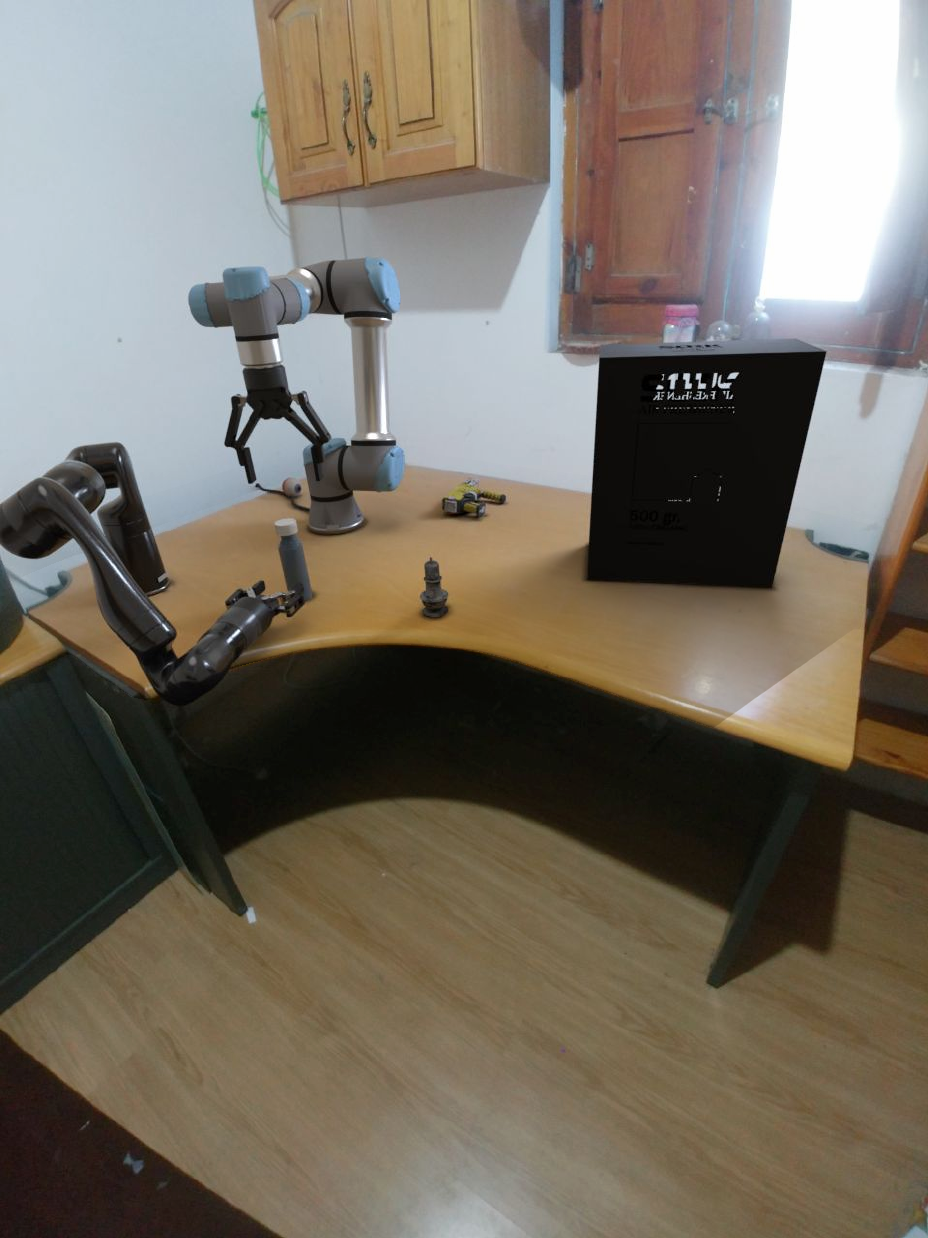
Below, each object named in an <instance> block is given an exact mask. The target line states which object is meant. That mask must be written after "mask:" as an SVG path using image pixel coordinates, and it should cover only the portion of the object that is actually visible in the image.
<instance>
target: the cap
mask: <svg viewBox="0 0 928 1238" xmlns="http://www.w3.org/2000/svg"><path fill="white" fill-rule="evenodd" d="M274 529H275V533H276V535H277V536H280V537H281V536H289V535H293V534H295V535H296V534H297V533H298V531H299V530H298V525H297V521H296V519H295V518H291V517H290V518H288V517H287V518H281V519H278V520H276V521H275V522H274Z"/></svg>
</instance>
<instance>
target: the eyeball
mask: <svg viewBox="0 0 928 1238" xmlns="http://www.w3.org/2000/svg"><path fill="white" fill-rule="evenodd" d="M281 487H282V489H281V490H282V491H283V492H284V493H285V494H286V495H288V496H292V497H293V498H295V497H297V496H299V495H300V494H301V493H302V488H303V487H302V483H301V481H300V480H299V479H298V478H295V477H287V478H286V479H284V480H283V482H282V485H281ZM286 495H285V496H286ZM288 496H287V497H288Z"/></svg>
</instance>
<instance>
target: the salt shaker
mask: <svg viewBox="0 0 928 1238" xmlns="http://www.w3.org/2000/svg"><path fill="white" fill-rule="evenodd" d="M423 567H424V577H423V581H424V582H425V590H424V591H422V592H421V593H420V594H419V599H420V600H421V603H422V605H423V606H424V608H422V614H423V615H424V616H426V617H429V618H438V617H442V616H444V615H446V614H448V612H449V607H448V606H447V605H446V603H447V602H448V598H449V595H450V594H449V592H448V591H447V590H445V589H443V588H442V582H441V581H442V579H443V577H442V575H441V574H440V564H439V562H438V561H437V560H434V559H433V557H432V556H430V557H429V559H428V561H426V562H425V563H424V566H423Z"/></svg>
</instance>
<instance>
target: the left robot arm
mask: <svg viewBox="0 0 928 1238" xmlns="http://www.w3.org/2000/svg"><path fill="white" fill-rule="evenodd" d="M114 489H119V491H120V494H119V495H118V496H117V497H115V498H114V499H112V500H110V501H109V502H105V504H103V505H101V504H102V503H103V501H104V499H105V497H106V493H107V490H114ZM96 510H97V511H96ZM95 511H96V516H97V519H98V521H99V524H100V526H101V528H102V529H101V528H100V526H99V525H98V523H97V522H96V521H95V519H94V518H93V516H92V515H91V514H93V513H95ZM72 540H74V541H75V542H76V543H77V545H78V546H79V548H80V549H81V551H82V553H83V554H84V556H85V558H86V560H87V562H88V565H89V568H90V572H91V576H92V581H93V585H94V591H95V596H96V601H97V604H98V608H99V611H100V613H101V616H102V618H103V620H104V621H105V623H106V625H107V626H108V627H109V628H110V630H111V631H112V632H113V633H114V634H115V635H116V636H117V637H118V638H119V639H120V640H121V642H122V643H123V644H124V645H125V646H126V647H127V648H128V649H129V650H130V651H131V652H132V653H133V655H134V656H135V657H136V660H137V662H138V663H139V666H140V668H141V669H142V671H143V673H144V675H145V677H146V679H147V680H148V682H149V684H150V686H151V688H152V689H153V691H154V693H156V694H157V696H158V697H159V698H160V699H161V700H163V701H164V702H166V703H167V704H170V705H173V706H175V707H185V706H188V705H191V704H192V703H194V702H195V701H196V700H198V699H200V698H201V697H203V696H204V695H206V694H207V693H210V691H212V690H213V689H215V687H217V686H218V685H219V684H220V683H221V682H222V680H223V679H224V678H225V677H226V675H227V673H228V672H229V670H230V669H231V667H232V665H233V664H234V663H235V662H236V661H237V660H238V659H239V658H240V657H241V656H242V655H243V654H244V653H245V652H246V651H247V650H248V649H250V648H251V647H252V646H253V645H254V644H255V643H256V642H257V641H258V640H259V638H261V636H263V634H264V633H265V632H266V631H267V630H268V629H269V628H270V626H271V625H272V623H273V620H274V617H277V616H278V615H280V614H285V616H286V618H292V617H293V616H294V615H296V614H297V613H298V611H299V610H301V609H302V607H303V606H305V604H306V603H305V602H306V601H304V597H303V593H304V586H303V585H302V583H301V582H298V583H297V584H296V585H295V586H294V587H293V588H292V589H291V591H285V592H283V591H278V592H276V593H273V594H268V595H266V594H263V593H264V592H265V591H266V589H267V588H266V584H265V583H266V582H265V581H264V580H263V579H262V580H261V579H260V580H259V581H257V582H255V583H254V584H253V585H251V587H246V588H245V589H243V588H237V589H236V590H235V591H234V592H233V593H232V594H231V595H229V596H228V598H227V599H226V600H225V601H224V604H225V608H226V611H224V613H222V614H221V615H220V616H219V617H218V618H217V619H216V621H215V622H214V623H213V625H212V626H211V627H210V628H208V629H207V630H206V631H205V632H204V633H203V634H202V635H201V636H199V638H198V639H197V642H196V644H194V645H193V646H192V647H191V648H190V649H188V650H187V651H186V652H185V653H183V654H182V655H181V656H179V657H178V655H177V654H176V651H175V650H174V648H173V644H174V642H175V641H176V639H177V636H178V632H177V629H176V627H175V626H174V624H172V622H171V621H170V620H169V619H168V618H167V617H166V615H165V614H164V613H163V612H162V611H161V610H160V609H159V608H158V607H157V605H155V603H154V602H153V601H152V600H151V599H150V598H149V596H152V595H157V594H159V593H161V592H163V591H165V590H167V589H168V588H169V587H170V585H171V582H170V578H169V577H168V576H169V574H168V571H167V570H166V568H165V566H164V562H163V559H162V556H161V553H160V550H159V547H158V543H157V540H156V537H155V535H154V532H153V529H152V525H151V523H150V520H149V517H148V513H147V511H146V508H145V505H144V501H143V498H142V495H141V491H140V488H139V485H138V481H137V477H136V474H135V470H134V466H133V462H132V460H131V456H130V453H129V451H128V450H127V448H126V446H125V445H124V444H122V442H118V441H111V442H102V443H101V442H100V443H92V444H85V445H80V446H77V447H74V448H72V450H70V451H69V453H67V456H66V457H65V459H64V460H62V461H61V462H60V463H58V464H56V465H55V466H53V467H52V468H50V469H49V470H47V471H46V472H45V473H44V474H43V475H42V476H39V477H36V478H34V479H33V480H31V481H29V482H28V483H26V484H25V485H24V486H22V487H21V488H20V489H19V490H17V491H16V492H14V493H13V494H11V496H9V497H8V498H6V499H5V500H4V501H1V503H0V546H1V547H2V548H3V549H4V550H6V551H7V552H8V553H10V554H12V555H14V556H17V557H19V558H22V559H27V560H39V559H40V560H41V559H44V558H46V557H49V556H50V555H52V554H54V553H55V552H57V551H58V550H59V549H61V548H62V547H64V546H65V545H66V544H68V543H69V542H70V541H72ZM289 596H291V599H288V600H287V598H289ZM278 599H280V601H281V602H280V603H281V605H280V603H279V600H278Z"/></svg>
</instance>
